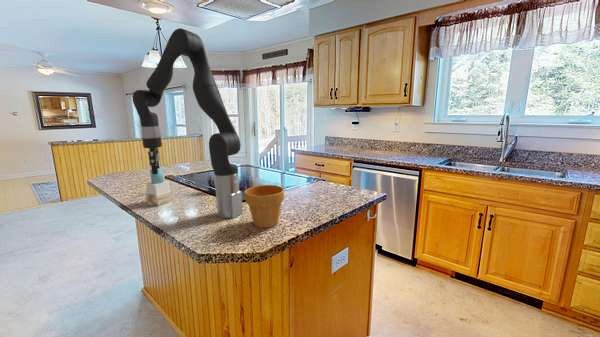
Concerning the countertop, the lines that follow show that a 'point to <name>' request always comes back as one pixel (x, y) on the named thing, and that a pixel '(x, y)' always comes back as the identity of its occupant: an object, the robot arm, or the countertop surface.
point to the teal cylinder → (157, 177)
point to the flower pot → (265, 204)
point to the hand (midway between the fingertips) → (156, 172)
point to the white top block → (158, 188)
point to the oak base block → (159, 199)
